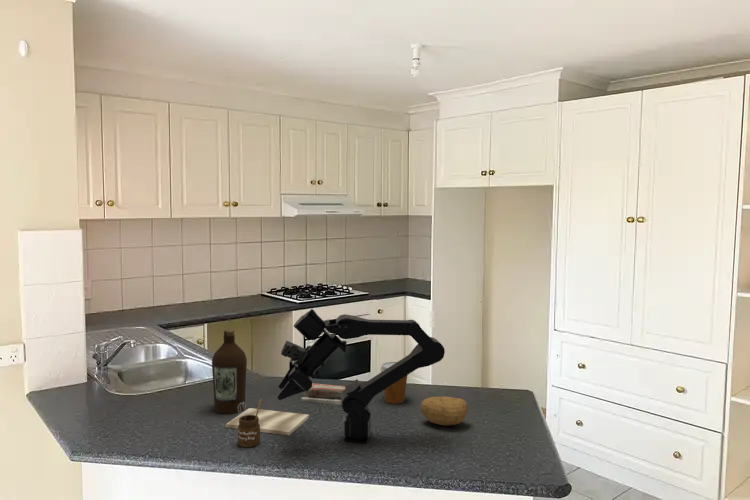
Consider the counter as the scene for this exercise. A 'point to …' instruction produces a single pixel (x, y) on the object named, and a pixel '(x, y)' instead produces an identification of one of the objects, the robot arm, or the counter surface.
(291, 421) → the birch board
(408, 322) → the robot arm
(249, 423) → the utensil holder
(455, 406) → the potato
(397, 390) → the disposable coffee cup
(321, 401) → the packaged product
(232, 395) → the olive oil
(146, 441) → the counter surface
